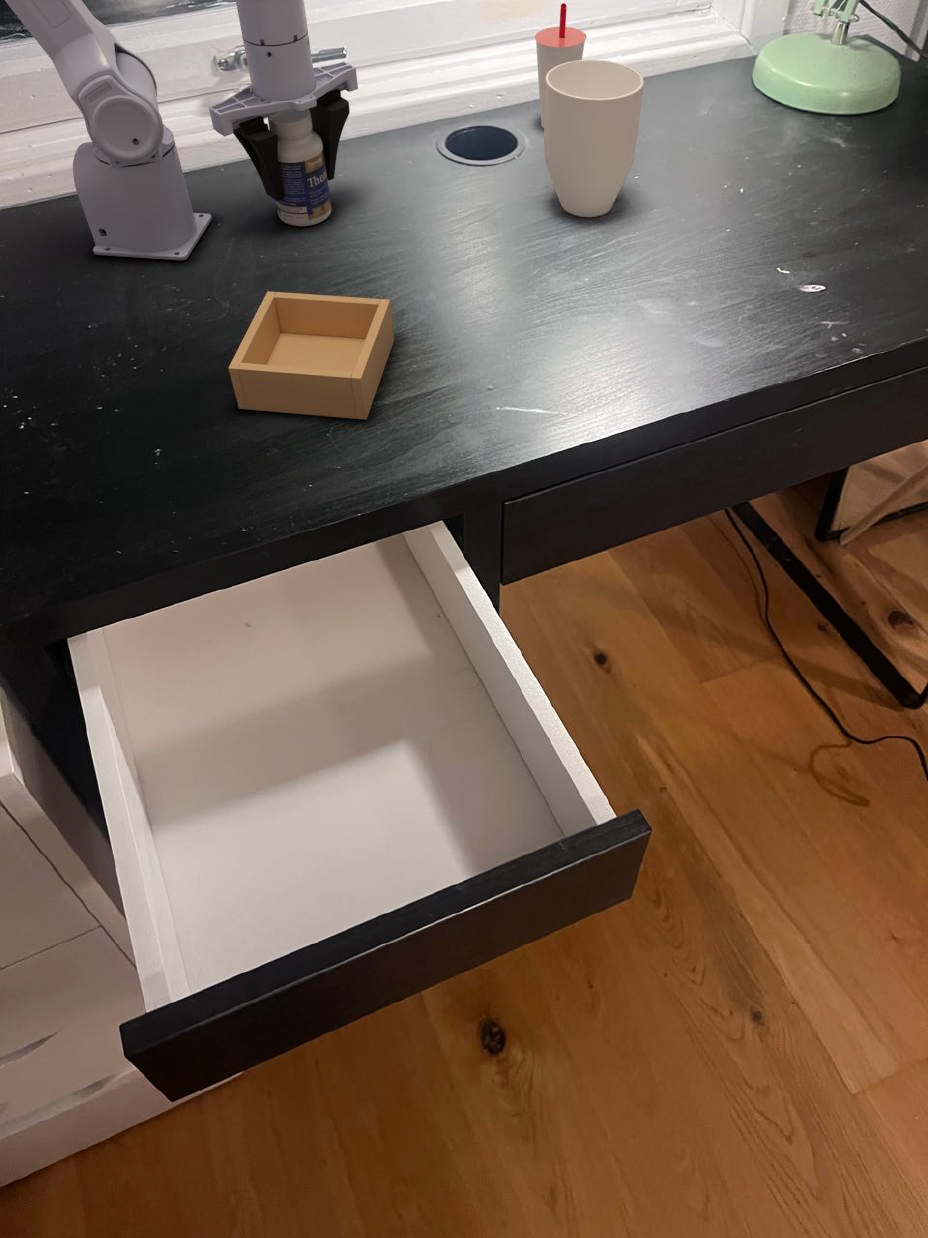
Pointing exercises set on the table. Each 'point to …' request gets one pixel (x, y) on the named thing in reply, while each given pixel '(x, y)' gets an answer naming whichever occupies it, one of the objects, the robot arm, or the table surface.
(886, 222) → the table surface
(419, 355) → the table surface
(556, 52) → the cup
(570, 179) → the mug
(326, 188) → the pill bottle
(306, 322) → the desk tray
